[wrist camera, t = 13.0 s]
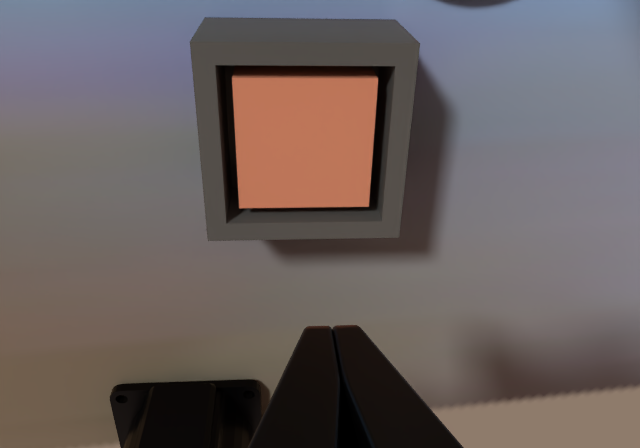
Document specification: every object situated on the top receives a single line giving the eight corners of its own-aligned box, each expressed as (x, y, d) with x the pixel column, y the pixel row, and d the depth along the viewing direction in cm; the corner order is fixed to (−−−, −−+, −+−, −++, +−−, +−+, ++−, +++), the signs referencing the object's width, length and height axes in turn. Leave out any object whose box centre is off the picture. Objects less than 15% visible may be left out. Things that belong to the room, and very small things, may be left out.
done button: (360, 178, 19) (368, 206, 17) (242, 180, 19) (239, 208, 17) (367, 61, 17) (378, 78, 15) (236, 60, 17) (232, 78, 15)
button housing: (381, 189, 21) (399, 237, 18) (218, 190, 20) (207, 240, 17) (395, 19, 18) (419, 43, 15) (204, 17, 17) (190, 41, 14)
